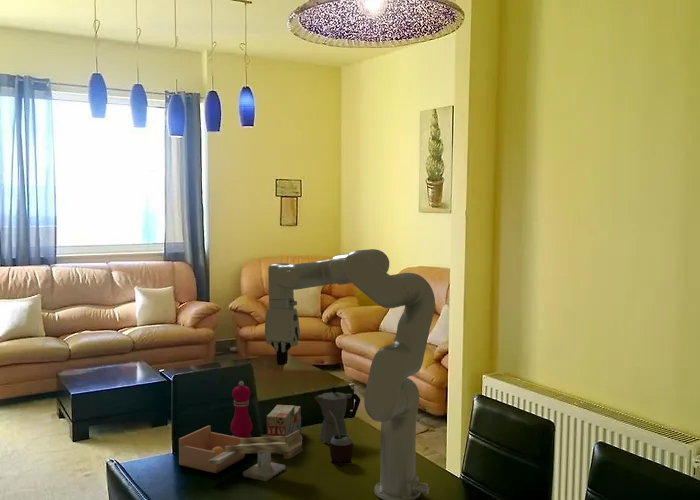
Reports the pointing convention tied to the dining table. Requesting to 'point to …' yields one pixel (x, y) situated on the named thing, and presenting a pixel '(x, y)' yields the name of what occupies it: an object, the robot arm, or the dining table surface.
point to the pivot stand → (264, 468)
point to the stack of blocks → (283, 421)
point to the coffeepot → (335, 412)
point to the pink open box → (206, 449)
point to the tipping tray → (263, 446)
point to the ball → (218, 450)
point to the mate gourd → (340, 447)
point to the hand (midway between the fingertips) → (282, 364)
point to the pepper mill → (241, 412)
